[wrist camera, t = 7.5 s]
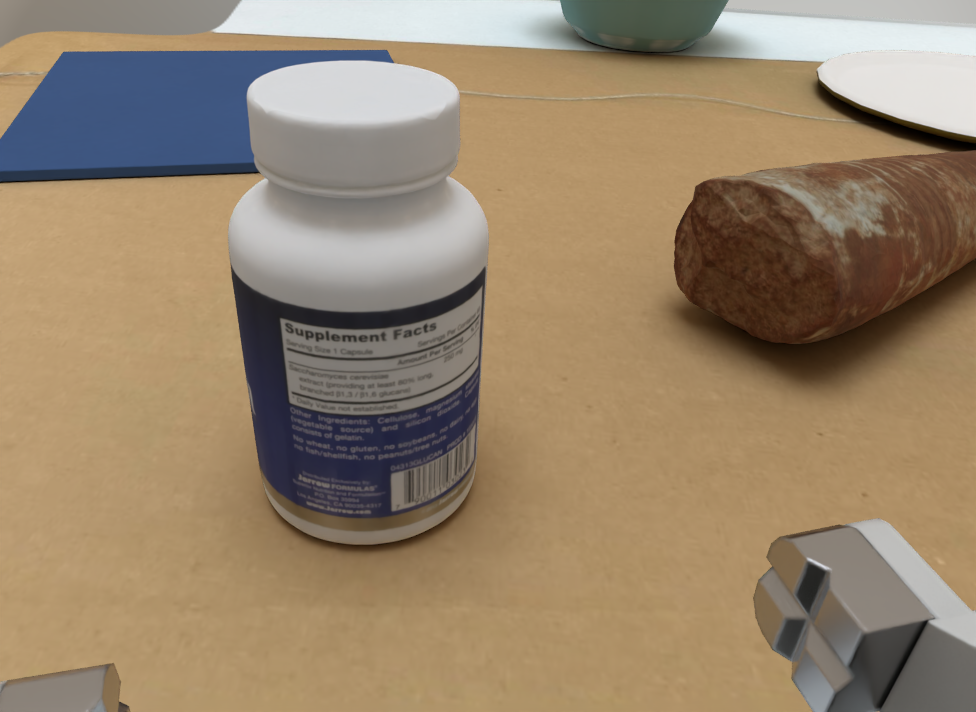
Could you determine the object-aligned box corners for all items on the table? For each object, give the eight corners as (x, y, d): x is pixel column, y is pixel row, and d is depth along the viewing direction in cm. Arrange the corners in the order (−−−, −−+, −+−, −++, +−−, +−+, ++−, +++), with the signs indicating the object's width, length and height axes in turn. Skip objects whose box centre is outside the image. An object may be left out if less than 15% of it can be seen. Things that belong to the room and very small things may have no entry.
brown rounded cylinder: (643, 309, 28) (671, 154, 25) (941, 206, 38) (988, 84, 35) (791, 403, 24) (846, 231, 21) (1085, 261, 34) (1152, 128, 31)
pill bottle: (281, 406, 23) (240, 44, 17) (473, 410, 23) (491, 55, 18) (239, 553, 18) (168, 126, 13) (478, 555, 19) (505, 139, 13)
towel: (-21, 182, 35) (-24, 171, 34) (64, 60, 51) (63, 51, 50) (444, 165, 39) (444, 155, 39) (387, 57, 55) (387, 49, 55)
